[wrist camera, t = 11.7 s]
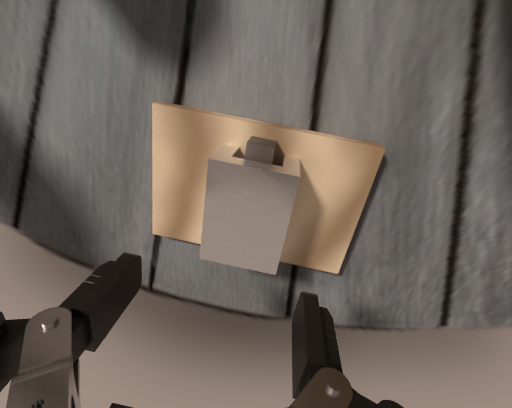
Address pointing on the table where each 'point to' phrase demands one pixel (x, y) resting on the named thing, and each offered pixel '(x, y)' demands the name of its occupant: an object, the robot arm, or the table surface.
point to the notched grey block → (247, 210)
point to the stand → (271, 152)
